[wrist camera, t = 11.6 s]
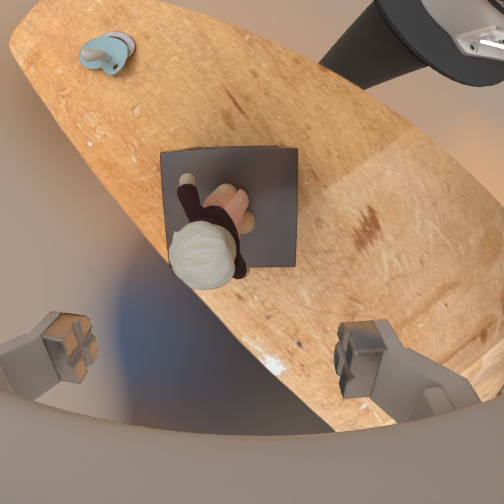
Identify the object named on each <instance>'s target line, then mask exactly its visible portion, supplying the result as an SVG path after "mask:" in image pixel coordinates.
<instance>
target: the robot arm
mask: <svg viewBox="0 0 504 504" xmlns="http://www.w3.org/2000/svg"><path fill="white" fill-rule="evenodd" d="M421 2H422V4H423V5H424V7H425V9H426V10H427V11H428V13H429V14H430V15H431V17H432V18H433V19H434V20H435V21H436V22H437V23H438V24H439V25H440V26H441V27H442V28H443V29H444V30H445V31H446V32H447V33H448V34H449V35H450V36H451V38H452V40H453V41H454V43H455V45H456V46H457V48H458V49H459V51H460V52H461V53H462V54H463V55H466V56H473V57H480V58H487V59H493V60H498V61H504V0H421ZM470 46H471V48H472V49H471V48H470ZM91 328H92V325H91V322H90V319H89V318H88V317H87V316H85V315H78V314H70V313H62V312H50V313H49V314H48V315H47V316H46V317H45V318H44V319H43V320H42V321H41V322H40V323H39V324H38V325H37V326H36V327H35V328H34V329H33V330H32V331H31V332H30V333H29V334H24V335H22V336H20V337H17V338H15V339H12V340H10V341H8V342H5V343H3V344H1V345H0V504H504V395H503V396H500V397H497V398H494V399H491V400H488V401H485V402H481V400H480V398H479V397H478V395H477V394H476V392H475V391H474V389H473V388H472V386H471V385H470V383H469V381H468V380H467V379H466V378H464V377H462V376H460V375H458V374H457V373H455V372H453V371H451V370H449V369H447V368H445V367H443V366H442V365H440V364H438V363H436V362H434V361H432V360H430V359H429V358H427V357H425V356H423V355H421V354H419V353H417V352H416V351H414V350H412V349H410V348H404V347H403V345H402V343H401V341H400V340H399V338H398V336H397V335H396V333H395V332H394V330H393V328H392V327H391V325H390V323H389V322H388V320H386V319H378V320H370V321H357V322H342V323H340V324H339V327H338V332H337V335H338V338H339V342H338V343H337V344H336V345H335V351H334V366H335V371H336V374H337V375H339V376H340V381H339V386H340V389H341V393H342V396H343V399H348V398H361V397H370V399H371V400H372V401H374V402H375V403H376V404H377V405H378V406H379V407H380V408H381V409H382V410H384V411H385V412H386V413H387V414H388V415H389V416H390V417H391V418H393V419H394V420H395V421H396V422H397V423H398V424H393V425H388V426H382V427H375V428H368V429H361V430H354V431H345V432H336V433H326V434H313V435H293V436H233V435H213V434H200V433H188V432H178V431H170V430H161V429H154V428H147V427H141V426H134V425H129V424H124V423H118V422H113V421H108V420H103V419H99V418H94V417H90V416H86V415H82V414H78V413H74V412H70V411H66V410H63V409H59V408H56V407H52V406H49V405H45V404H42V403H39V402H36V401H34V400H35V399H37V398H38V397H40V396H41V395H42V394H44V393H45V392H47V391H48V390H49V389H51V388H52V387H54V386H55V385H56V384H58V383H59V382H60V380H61V381H66V382H71V383H77V384H81V382H82V380H83V379H84V377H85V376H86V374H87V372H88V370H87V366H89V365H91V364H93V363H94V361H95V359H96V357H97V352H98V347H97V341H96V338H95V336H94V335H93V334H92V333H91V332H90V331H91Z"/></svg>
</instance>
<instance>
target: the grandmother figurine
mask: <svg viewBox="0 0 504 504" xmlns="http://www.w3.org/2000/svg"><path fill="white" fill-rule="evenodd" d="M195 182H196V181H195V177H194V176H193V175H192V174H190V173H185V174H183V175H182V176H181V177H180V180H179V183H180V185H179V187H178V188H177V196H178V199H179V201H180V203H181V205H182V207H183V209H184V211H185V214H186V216H187V218H188V220H189V221H190V223H189V224H187V225H186V226H184V227H183V228H182V229H181V230H180V231H178V232H175V231H174V235H173V241H172V244H171V246H170V249H169V260H170V263H171V265H172V267H173V270H174V272H175V274H176V275H177V276H178V277H179V278H180V279H181V280H183V281H184V282H185V283H186V284H187V285H188V286H189V287H191V288H193V289H198V290H209V289H216V288H219V287H221V286H224V285H225V284H227V283H228V282H229V281H230V280H231V278H232V277H233V278H235V279H241V278H244V277H246V276H247V275H248V274H249V272H250V268H249V266H248V265H247V264H246V263H245V261H244V259H243V257H242V255H241V253H240V239H239V238H240V236H241V234H246V233H249V232H251V231H252V230H253V229H254V227H255V218H254V216H253V214H252V213H251V212H249V211H247V210H246V209H247V207H248V204H249V199H248V195H247V194H246V192H245V191H244V190H242V189H239V190H238V191H237V190H236V188H235V187H234V186H233V185H231V184H222V185H220V186H219V187H218V188H217V189H216V190H215V191H214V192H213V193H212V194H211V195H210V196H208V197H207V198H206V200H205V202H204V204H203V206H201V205H200V198H199V194H198V191H197V188H196V185H195Z"/></svg>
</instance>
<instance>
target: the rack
mask: <svg viewBox="0 0 504 504" xmlns="http://www.w3.org/2000/svg"><path fill="white" fill-rule="evenodd" d="M160 162H161V180H162V194H163V207H164V219H165V230H166V240H167V249H168V258H169V249H170V246H171V244H172V241H173V235H174V231H175V232H178V231H180V230H181V229H182V228H183V227H184V226H186V225H187V224H189V223H190V221H189V220H188V218H187V216H186V214H185V211H184V209H183V207H182V205H181V203H180V201H179V199H178V196H177V188H178V187H179V185H180V183H179V180H180V177H181V176H182V175H183V174H185V173H190V174H192V175H193V176H194V177H195V181H196V182H195V185H196V188H197V191H198V194H199V198H200V205H201V206H203V204H204V202H205V200H206V198H207V197H208V196H210V195H211V194H212V193H213V192H214V191H215V190H216V189H217V188H218V187H219V186H220V185H222V184H231V185H233V186H234V187H235V188H236V190H237V191H238V190H239V189H242V190H244V191H245V192H246V194H247V195H248V199H249V204H248V207H247V209H246V210H247V211H249V212H251V213H252V214H253V216H254V218H255V227H254V229H253V230H252V231H251V232H249V233H246V234H241V236H240V238H239V239H240V253H241V255H242V257H243V259H244V261H245V263H246V264H247V265H248V266H249V267H295V266H296V240H297V202H298V148H294V147H290V146H285V145H274V146H224V147H191V148H184V149H178V150H172V151H166V152H161V153H160ZM169 267H171V268H173V267H172V265H171V263H170V260H169Z"/></svg>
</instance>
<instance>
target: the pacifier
mask: <svg viewBox="0 0 504 504" xmlns="http://www.w3.org/2000/svg"><path fill="white" fill-rule="evenodd" d="M114 37H116V38H120V39H123V40H124V41H125V42H126V43H127V46H128V48H127V46H126V44H125V43H124V42H123V41H121V40H119V39H116V38H114ZM134 49H135V44H134V41H133V39H132V38H131V37H130V36H128V35H127V34H125V33H122V32H116V31H115V32H108V33H105V34H103V35H101V36H100V37H98V38H95V39H92V40H90V41H89V42H88V43H86V44H85V45H84V46H83V47H82V49H81V51H80V53H79V60H80V63H81V64H82V65H83V66H84V67H86V68H89V69H97V68H102V69H103V71H104V72H105V73H106V74H108V75H114V74H117V73H118V72H119V71H120V70H121V69H122V68H123V66H124V64H125V62H126V60H127V58H128V57H130V56H131V55H132V53H133V52H134ZM88 61H91V62H88ZM117 64H118V67H117V68H116V69H115V70H114V66H115V65H117Z"/></svg>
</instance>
